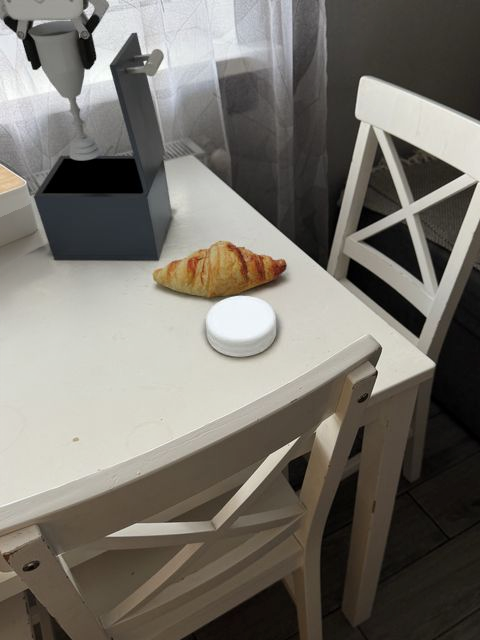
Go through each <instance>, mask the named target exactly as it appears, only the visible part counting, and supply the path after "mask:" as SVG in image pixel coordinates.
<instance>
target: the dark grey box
mask: <svg viewBox="0 0 480 640" xmlns="http://www.w3.org/2000/svg"><path fill="white" fill-rule="evenodd" d="M169 191H170V190H169V186H168V179H167V172H166V167H165V159H164V158H163V159H162V161H161V164H160V166H159V169H158V172H157V174H156V177H155V180H154V182H153V185H152V187H151V190H150V193H149V194H144V191H143V187H142V184H141V180H140V176H139V173H138V169H137V165H136V162H135V158H134V155H99V156H98V157H95V158H93V159H90V160H74V159H72V158H70V156H69V155H60V156H59V157H58V158H57V160H56V162H55V163H54V164H53V166H52V168H51V169H50V171H49V173H48V174H47V175H46V177H45V178H44V180H43V181H42V183H41V185H40V186H39V188H38V189H37V190H36V192H35V193H34V195H33V199H34V202H35V206H36V208H37V211H38V215H39V218H40V221H41V223H42V226H43V227H42V228H43V230H44V233H45V237H46V240H47V242H48V245H49V248H50V251H51V255H52V257H53V260H54V261H128V262H129V261H130V262H131V261H135V262H139V261H141V262H158V261H160V258H161V254H162V251H163V247H164V245H165V242H166V238H167V236H168V232H169V229H170V225H171V222H172V219H173V211H172V205H171V200H170V199H171V198H170V192H169Z"/></svg>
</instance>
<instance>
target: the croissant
mask: <svg viewBox="0 0 480 640" xmlns="http://www.w3.org/2000/svg"><path fill="white" fill-rule="evenodd" d="M287 266H288V265H287V262H286V260H285V259H283V258H280V259H273V258H272V256H270V255H266V254H257V253H255V252H253V251H251V250H250V249H246V248H245V246H237V245H235V244H233V242H231V241H227V240H218V241H216V242H215V243H213V244H211V245H210V247H209V248H203V249H201V248H200V249H198V250H195V251H194V252H191V253H190V254H189V255H188V256H187V257H184V258H182V259H178V260H177V259H176V260H172V261H171V262H169V263H168V264H166V265H165V266H164V267H163V268H162V267H161V268H158V269H155V270H153V272H152V278H153V281H154V282H156V283H157V284H159V285H162V286H163V287H166V288H169V289H171V290H173V291H175V292H178V293H180V292H181V293H183V294H188V295H193V296H199V297H203V298H206V299H211V298H214V297H217V296H219V297H226V296H231V295H236V294H241V293H242V292H243V293H244V292H245V291H247V290H249V289H252V288H254V287H257V286H261V285H263V284H267V283H270V282H272V281H274V280H275V279H276V278H278V277H279V276H280V275H282V274H283V273H284V272H285V271H286V270H287Z"/></svg>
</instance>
